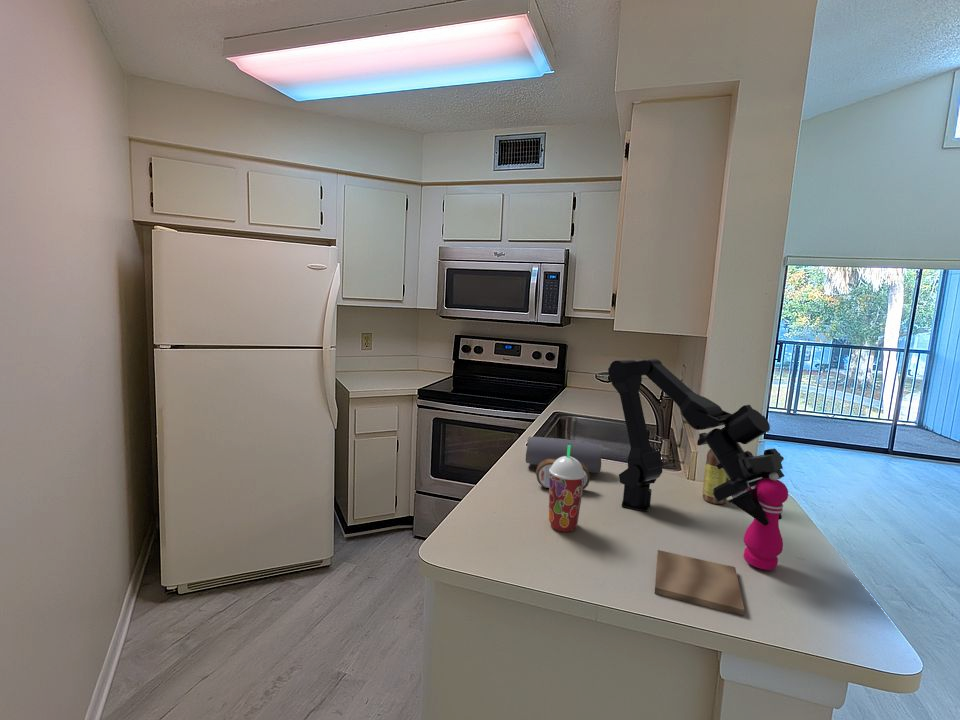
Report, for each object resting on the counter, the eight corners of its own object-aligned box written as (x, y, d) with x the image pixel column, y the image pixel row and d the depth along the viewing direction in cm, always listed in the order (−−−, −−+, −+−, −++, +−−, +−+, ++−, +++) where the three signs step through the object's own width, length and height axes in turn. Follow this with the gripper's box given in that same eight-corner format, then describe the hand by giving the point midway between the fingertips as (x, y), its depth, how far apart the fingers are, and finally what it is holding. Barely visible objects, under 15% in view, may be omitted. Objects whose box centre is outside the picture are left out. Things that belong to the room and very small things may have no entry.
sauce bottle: (729, 506, 134) (738, 436, 131) (704, 503, 135) (713, 433, 132) (722, 497, 141) (731, 429, 138) (699, 494, 142) (707, 426, 139)
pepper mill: (733, 552, 108) (747, 465, 105) (765, 552, 109) (779, 466, 106) (754, 571, 101) (769, 478, 98) (787, 571, 102) (803, 479, 99)
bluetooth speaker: (599, 470, 157) (602, 439, 156) (599, 480, 148) (602, 448, 147) (528, 461, 162) (530, 431, 161) (524, 470, 153) (526, 439, 152)
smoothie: (584, 523, 120) (591, 444, 117) (575, 538, 113) (582, 454, 110) (550, 515, 124) (556, 437, 121) (540, 529, 116) (546, 447, 113)
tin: (588, 489, 141) (590, 461, 140) (589, 494, 138) (591, 465, 137) (535, 484, 143) (537, 456, 141) (535, 489, 139) (537, 460, 138)
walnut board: (654, 593, 93) (655, 587, 93) (657, 555, 107) (658, 549, 107) (743, 616, 88) (744, 609, 88) (734, 572, 102) (735, 567, 102)
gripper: (734, 442, 99) (784, 517, 92) (781, 431, 109) (829, 498, 102) (694, 466, 107) (737, 537, 99) (741, 454, 117) (783, 517, 110)
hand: (773, 522), depth 102 cm, fingers closed on pepper mill, 5 cm apart
